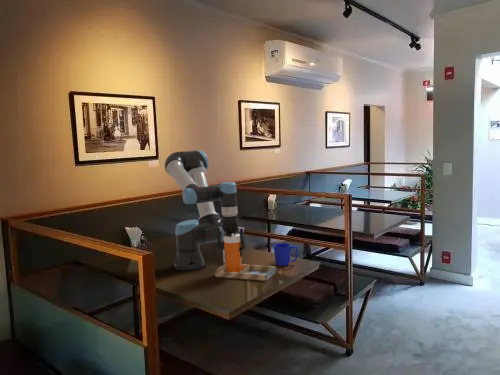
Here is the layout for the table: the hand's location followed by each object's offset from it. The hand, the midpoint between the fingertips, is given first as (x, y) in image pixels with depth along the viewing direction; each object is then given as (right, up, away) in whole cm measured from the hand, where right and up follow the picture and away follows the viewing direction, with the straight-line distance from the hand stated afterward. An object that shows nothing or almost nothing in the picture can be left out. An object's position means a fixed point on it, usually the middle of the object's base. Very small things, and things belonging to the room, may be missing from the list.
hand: (232, 262), depth 197 cm
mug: (+27, -3, +10) cm, 28 cm away
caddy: (+6, -5, -2) cm, 8 cm away
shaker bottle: (+1, -5, 0) cm, 5 cm away
